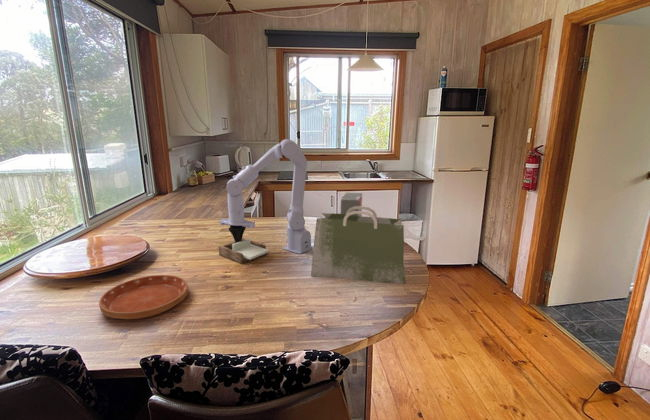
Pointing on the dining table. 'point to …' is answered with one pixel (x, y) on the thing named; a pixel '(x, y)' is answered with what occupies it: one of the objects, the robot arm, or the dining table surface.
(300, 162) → the robot arm
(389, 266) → the grocery bag
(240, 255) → the groove box
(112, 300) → the saucer
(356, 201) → the hard drive box
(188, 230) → the dining table surface
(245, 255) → the cover plate
